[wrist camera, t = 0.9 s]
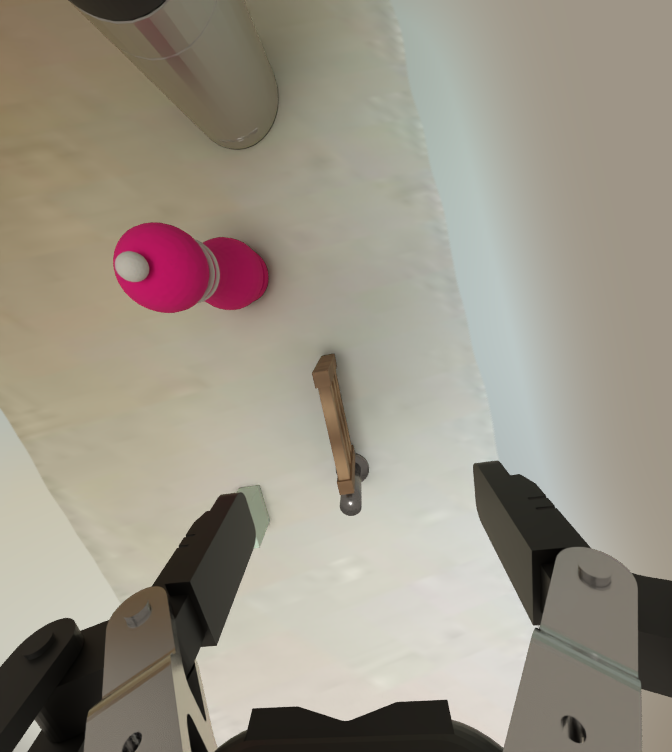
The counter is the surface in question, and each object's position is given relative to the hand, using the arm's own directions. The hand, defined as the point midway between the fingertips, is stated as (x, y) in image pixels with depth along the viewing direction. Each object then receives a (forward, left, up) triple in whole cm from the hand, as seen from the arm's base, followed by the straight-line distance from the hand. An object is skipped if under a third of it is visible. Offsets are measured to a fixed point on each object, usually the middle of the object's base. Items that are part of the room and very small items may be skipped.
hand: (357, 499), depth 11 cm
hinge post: (+16, -4, -29) cm, 34 cm away
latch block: (+20, -19, -29) cm, 40 cm away
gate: (+7, -4, -29) cm, 30 cm away
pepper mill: (-11, -12, -29) cm, 33 cm away
